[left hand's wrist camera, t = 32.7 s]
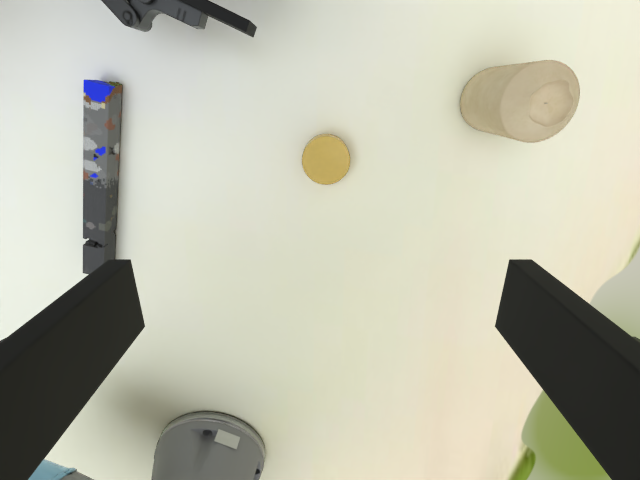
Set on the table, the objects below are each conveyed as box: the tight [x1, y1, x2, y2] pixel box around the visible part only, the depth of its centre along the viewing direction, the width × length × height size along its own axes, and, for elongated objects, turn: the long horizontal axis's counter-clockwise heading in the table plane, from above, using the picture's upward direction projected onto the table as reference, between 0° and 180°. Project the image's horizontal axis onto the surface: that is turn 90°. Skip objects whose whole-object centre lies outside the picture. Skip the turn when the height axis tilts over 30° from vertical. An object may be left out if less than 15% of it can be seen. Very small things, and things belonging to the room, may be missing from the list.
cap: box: [302, 134, 350, 184], centre depth 35 cm, size 5×5×2 cm
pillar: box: [83, 80, 122, 274], centre depth 36 cm, size 2×2×20 cm
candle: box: [460, 60, 580, 142], centre depth 29 cm, size 6×6×10 cm
